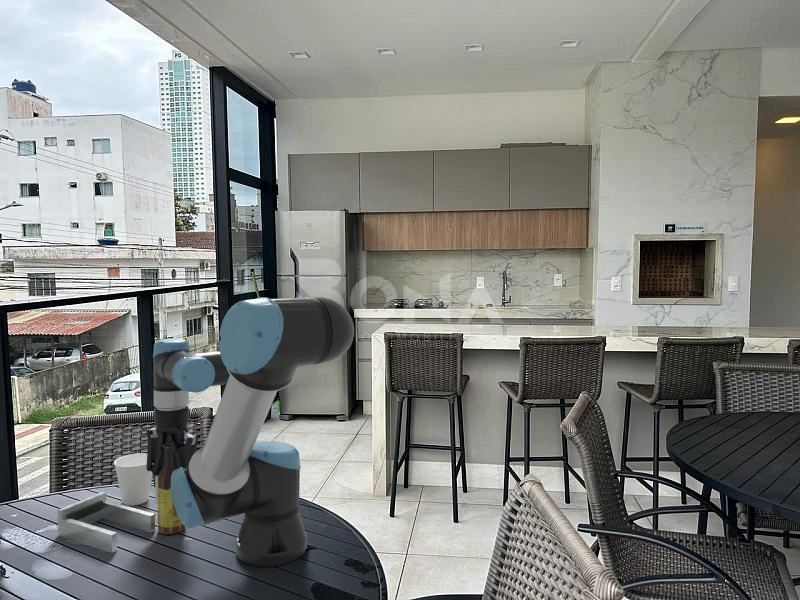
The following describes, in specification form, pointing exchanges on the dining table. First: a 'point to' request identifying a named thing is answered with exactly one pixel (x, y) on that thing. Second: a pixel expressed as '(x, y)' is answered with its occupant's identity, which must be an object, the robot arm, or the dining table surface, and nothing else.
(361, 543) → the dining table surface
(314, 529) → the dining table surface
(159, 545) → the dining table surface
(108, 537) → the frame
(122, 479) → the cup
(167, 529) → the sauce bottle
